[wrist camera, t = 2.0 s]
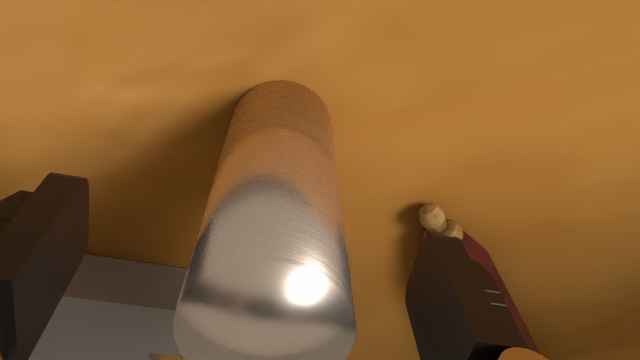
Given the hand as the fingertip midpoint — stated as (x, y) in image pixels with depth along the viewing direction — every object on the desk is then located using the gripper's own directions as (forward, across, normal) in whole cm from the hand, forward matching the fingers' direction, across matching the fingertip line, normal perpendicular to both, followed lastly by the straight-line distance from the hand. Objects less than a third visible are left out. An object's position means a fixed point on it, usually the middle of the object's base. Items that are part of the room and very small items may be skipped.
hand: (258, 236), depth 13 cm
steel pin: (+7, 0, 0) cm, 7 cm away
